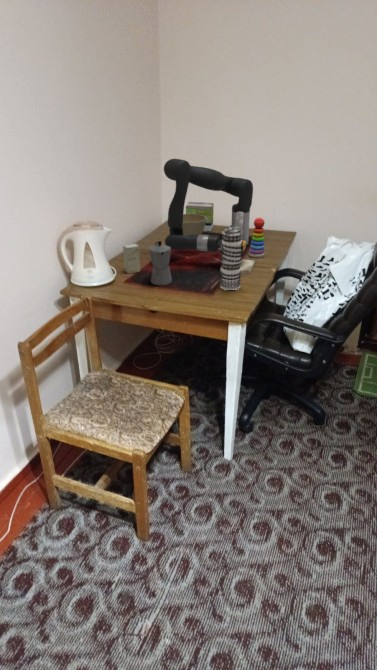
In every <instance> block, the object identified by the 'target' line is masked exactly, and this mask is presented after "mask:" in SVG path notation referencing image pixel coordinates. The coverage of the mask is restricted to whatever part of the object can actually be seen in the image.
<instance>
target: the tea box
mask: <svg viewBox="0 0 377 670" xmlns="http://www.w3.org/2000/svg"><path fill="white" fill-rule="evenodd" d="M185 214H199V215H203V216H205V217H206V223H205V227H204V230H203V232H207V231H210V232H209V233H211V232H212V229H213V228H214V202H201V201H199V202H198V201H188V203H187V204H186V205H185Z"/></svg>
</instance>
